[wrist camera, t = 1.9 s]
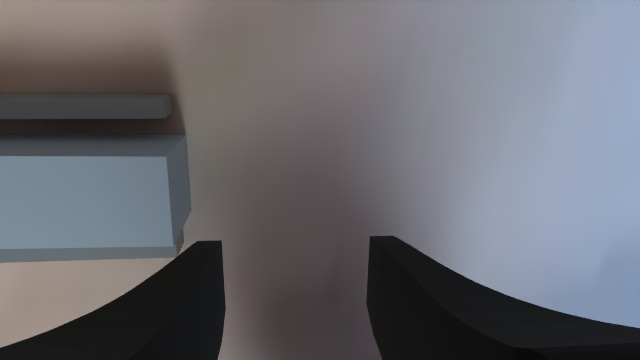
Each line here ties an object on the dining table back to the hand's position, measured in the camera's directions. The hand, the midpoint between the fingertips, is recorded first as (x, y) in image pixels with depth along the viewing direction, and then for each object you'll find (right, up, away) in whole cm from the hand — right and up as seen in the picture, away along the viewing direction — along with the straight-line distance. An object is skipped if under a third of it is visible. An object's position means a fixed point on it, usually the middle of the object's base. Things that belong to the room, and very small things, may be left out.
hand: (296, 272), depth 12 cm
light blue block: (-11, +3, +8) cm, 14 cm away
